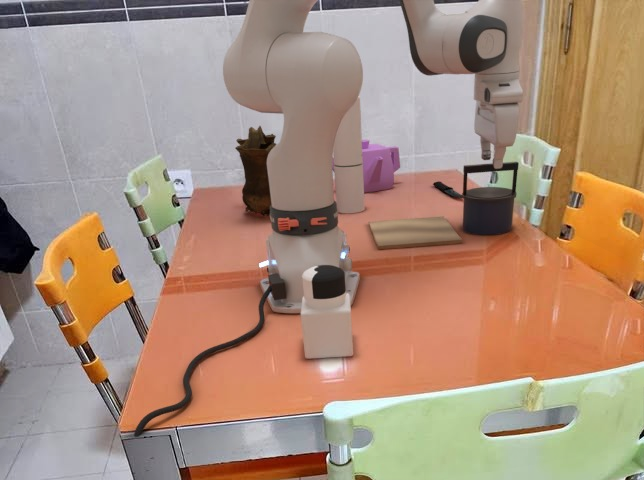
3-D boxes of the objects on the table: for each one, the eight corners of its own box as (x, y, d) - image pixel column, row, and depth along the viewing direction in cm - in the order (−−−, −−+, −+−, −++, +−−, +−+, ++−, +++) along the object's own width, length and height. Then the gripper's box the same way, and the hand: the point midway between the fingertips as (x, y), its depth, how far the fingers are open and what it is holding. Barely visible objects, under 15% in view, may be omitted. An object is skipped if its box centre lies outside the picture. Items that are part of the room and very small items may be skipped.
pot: (520, 233, 142) (526, 167, 134) (467, 237, 142) (470, 171, 134) (505, 219, 152) (510, 157, 144) (455, 223, 151) (458, 161, 144)
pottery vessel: (288, 222, 159) (278, 132, 147) (243, 226, 158) (230, 135, 147) (285, 199, 179) (276, 118, 168) (245, 202, 178) (234, 121, 167)
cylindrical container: (365, 206, 169) (361, 95, 154) (363, 213, 163) (358, 98, 149) (338, 206, 170) (331, 96, 155) (335, 213, 164) (327, 100, 149)
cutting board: (461, 243, 138) (462, 239, 138) (378, 249, 137) (378, 245, 137) (443, 219, 155) (443, 216, 154) (368, 225, 154) (368, 221, 153)
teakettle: (403, 182, 190) (402, 135, 183) (382, 195, 178) (380, 145, 170) (350, 180, 196) (347, 134, 189) (326, 193, 183) (322, 144, 176)
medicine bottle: (352, 337, 101) (347, 259, 94) (353, 356, 95) (348, 275, 88) (306, 339, 101) (298, 262, 94) (305, 359, 95) (296, 279, 88)
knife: (432, 181, 183) (442, 180, 183) (432, 187, 184) (442, 185, 184) (457, 196, 166) (468, 195, 167) (457, 202, 167) (468, 200, 168)
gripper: (468, 85, 139) (466, 156, 147) (493, 95, 123) (488, 174, 131) (497, 83, 139) (493, 153, 148) (526, 92, 123) (519, 171, 131)
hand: (491, 163), depth 139 cm, fingers open, 8 cm apart
